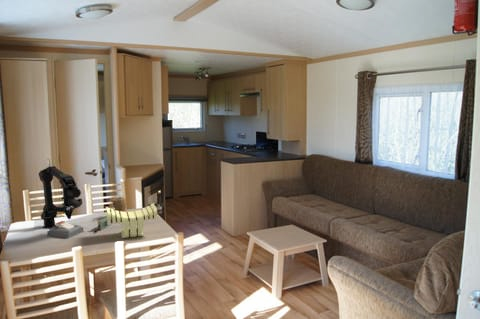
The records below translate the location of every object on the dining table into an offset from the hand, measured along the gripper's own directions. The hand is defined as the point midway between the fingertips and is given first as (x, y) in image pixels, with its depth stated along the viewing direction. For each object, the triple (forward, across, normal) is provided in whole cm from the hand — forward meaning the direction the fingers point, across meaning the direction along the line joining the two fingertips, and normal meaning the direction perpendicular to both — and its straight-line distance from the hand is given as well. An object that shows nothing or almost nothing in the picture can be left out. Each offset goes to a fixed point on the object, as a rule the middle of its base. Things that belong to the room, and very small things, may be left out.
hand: (69, 218), depth 260 cm
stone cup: (+10, +42, -11) cm, 45 cm away
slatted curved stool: (+10, +10, -40) cm, 42 cm away
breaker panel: (+10, -1, +3) cm, 10 cm away
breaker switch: (+5, -1, +3) cm, 5 cm away
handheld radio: (+10, +18, -13) cm, 25 cm away
